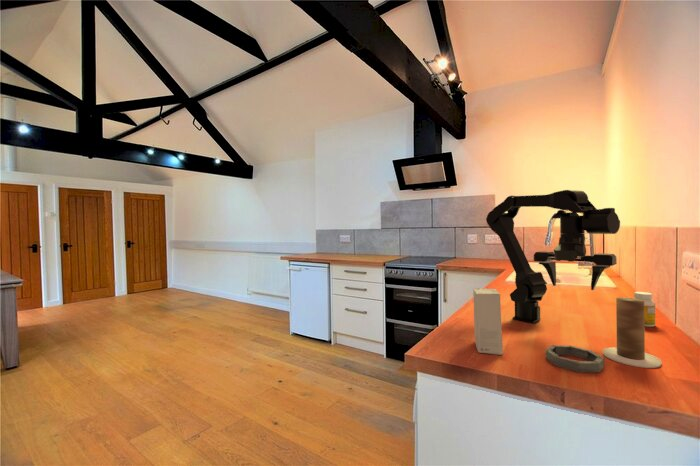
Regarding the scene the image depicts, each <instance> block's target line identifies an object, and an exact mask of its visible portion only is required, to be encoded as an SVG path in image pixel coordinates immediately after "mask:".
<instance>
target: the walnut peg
mask: <svg viewBox="0 0 700 466" xmlns="http://www.w3.org/2000/svg"><path fill="white" fill-rule="evenodd" d="M615 302H616V303H615V305H616V306H615V307H616V316H615V317H616V347H617V354H618V355H620V356H622V357H625V358H628V359H634V360H644V359H645V353H646V351H645V350H646V348H645V347H646V346H645V345H646V343H645V341H646V340H645V337H646V335H645V332H646V331H645V330H646V329H645V327H646V326H644V301H643V300H640V299H635V297H624V296H622V297H616V300H615Z"/></svg>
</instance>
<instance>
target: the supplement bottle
mask: <svg viewBox="0 0 700 466" xmlns="http://www.w3.org/2000/svg"><path fill="white" fill-rule="evenodd" d="M633 294H634V297H633V298H635V299H640V300H643V301H644V326H645V327H648V328H649V327H650V328H651V327H655V326H656V302H654V300H652V298H653V294H652V293H651V292H647V291H646V292H645V291H634V293H633Z"/></svg>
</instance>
